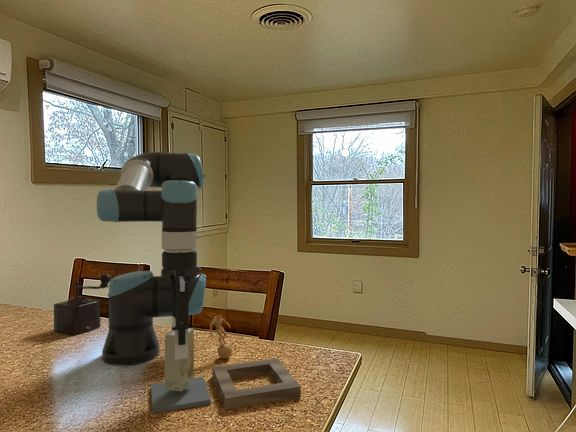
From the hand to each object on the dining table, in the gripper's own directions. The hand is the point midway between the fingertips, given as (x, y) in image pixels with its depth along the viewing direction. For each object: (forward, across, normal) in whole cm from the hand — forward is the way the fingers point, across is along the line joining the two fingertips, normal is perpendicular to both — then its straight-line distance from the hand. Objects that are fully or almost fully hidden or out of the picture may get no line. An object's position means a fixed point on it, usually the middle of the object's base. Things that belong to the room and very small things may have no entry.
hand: (179, 351), depth 89 cm
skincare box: (+8, 0, 0) cm, 8 cm away
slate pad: (+10, 0, 0) cm, 10 cm away
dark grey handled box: (+10, +61, +27) cm, 67 cm away
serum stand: (+10, -1, -17) cm, 20 cm away
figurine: (+10, +19, -13) cm, 25 cm away
